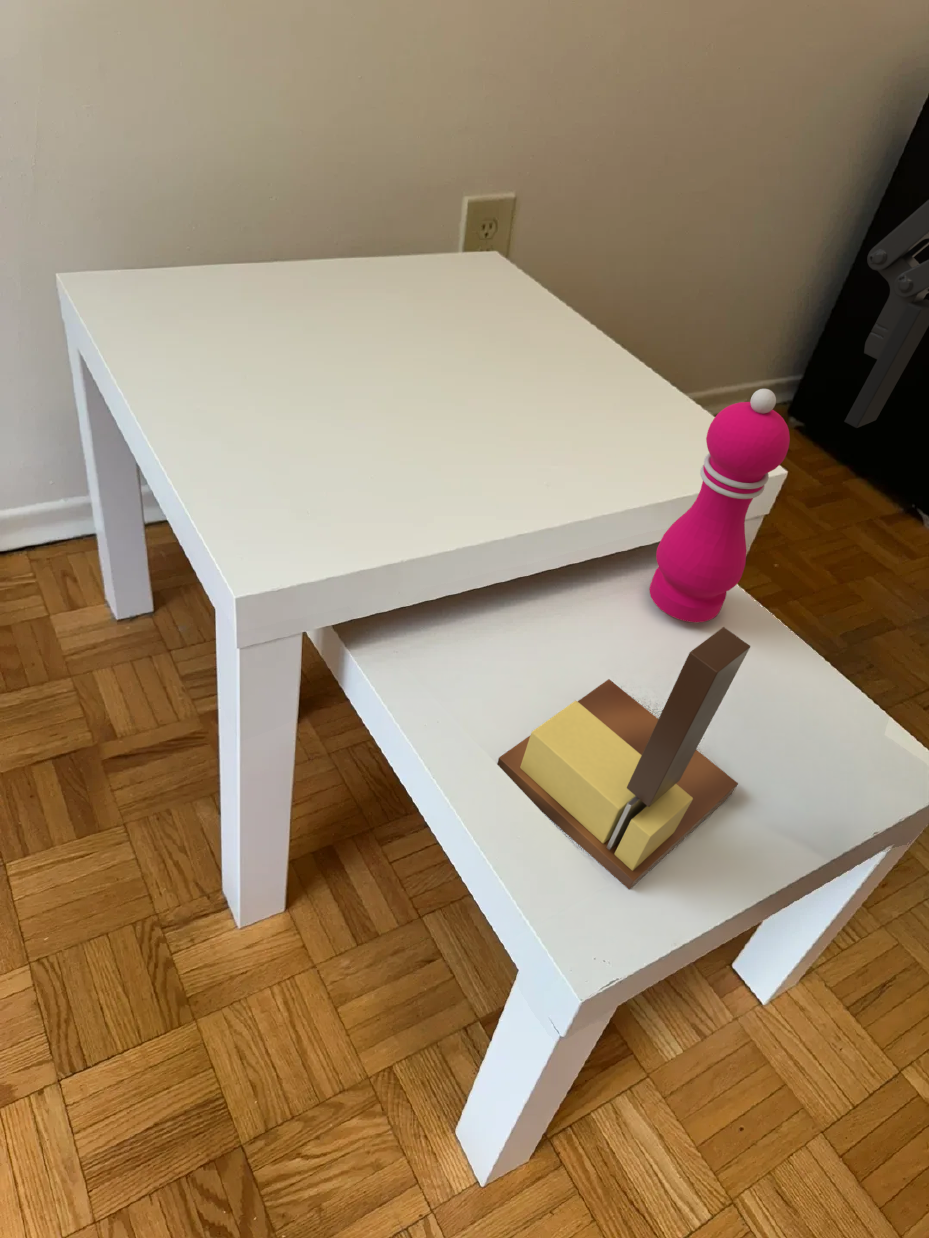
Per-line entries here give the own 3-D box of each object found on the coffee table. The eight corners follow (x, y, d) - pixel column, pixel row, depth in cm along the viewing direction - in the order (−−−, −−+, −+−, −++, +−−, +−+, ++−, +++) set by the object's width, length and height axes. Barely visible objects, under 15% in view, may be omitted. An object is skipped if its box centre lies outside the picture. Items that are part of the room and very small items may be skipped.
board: (731, 795, 66) (738, 783, 65) (627, 893, 59) (633, 881, 58) (603, 691, 71) (608, 678, 70) (494, 770, 64) (498, 757, 63)
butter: (674, 832, 61) (693, 798, 58) (632, 871, 59) (650, 837, 56) (562, 735, 66) (576, 699, 63) (519, 768, 63) (531, 731, 60)
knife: (663, 818, 62) (759, 639, 50) (618, 858, 59) (708, 679, 47) (642, 800, 62) (731, 620, 50) (597, 839, 60) (680, 658, 48)
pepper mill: (661, 561, 84) (735, 356, 70) (736, 595, 82) (827, 390, 68) (630, 602, 79) (704, 390, 66) (710, 639, 77) (803, 428, 63)
